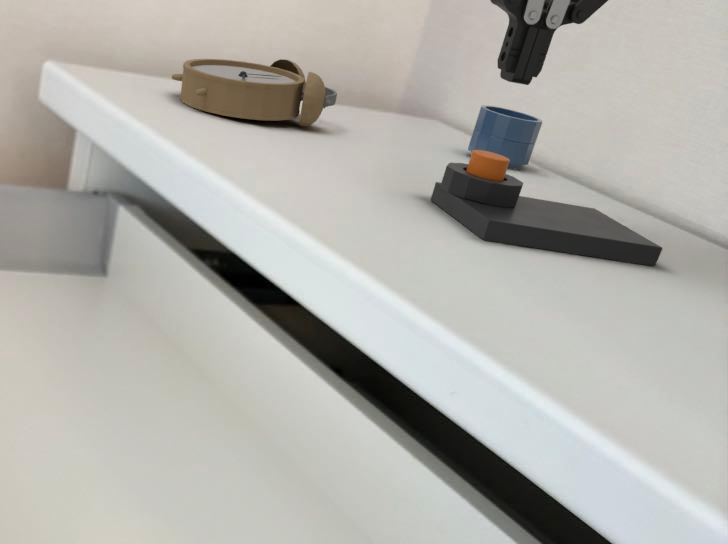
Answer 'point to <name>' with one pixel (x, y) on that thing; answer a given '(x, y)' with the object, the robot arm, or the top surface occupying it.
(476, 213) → the scale
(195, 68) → the alarm clock
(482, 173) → the button
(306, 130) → the top surface
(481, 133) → the cup
